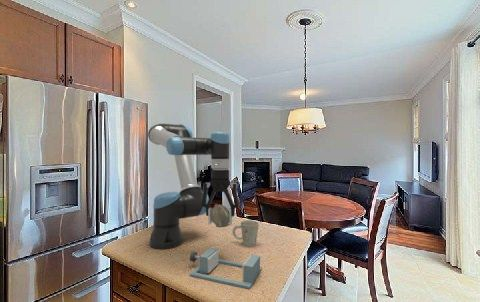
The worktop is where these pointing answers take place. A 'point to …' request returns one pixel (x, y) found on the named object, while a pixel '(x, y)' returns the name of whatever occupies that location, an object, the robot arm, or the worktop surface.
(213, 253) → the jaw
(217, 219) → the garlic bulb
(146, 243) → the worktop surface
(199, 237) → the worktop surface
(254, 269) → the vise
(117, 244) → the worktop surface
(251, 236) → the mug
